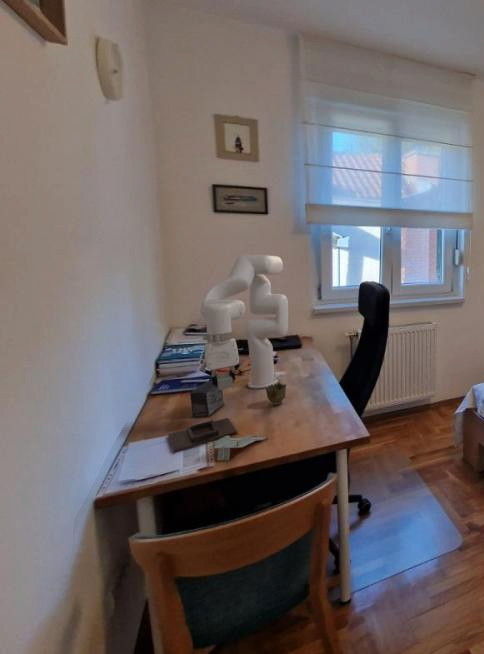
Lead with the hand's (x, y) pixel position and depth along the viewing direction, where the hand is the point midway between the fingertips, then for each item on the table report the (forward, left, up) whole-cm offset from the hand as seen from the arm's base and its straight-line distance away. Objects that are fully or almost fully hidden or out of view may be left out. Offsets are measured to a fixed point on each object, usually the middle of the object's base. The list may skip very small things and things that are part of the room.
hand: (223, 383), depth 155 cm
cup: (-19, -4, -16) cm, 25 cm away
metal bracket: (+2, +23, -16) cm, 28 cm away
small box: (+3, -16, -16) cm, 23 cm away
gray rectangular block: (0, 0, -1) cm, 1 cm away
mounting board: (+8, +5, -16) cm, 18 cm away
